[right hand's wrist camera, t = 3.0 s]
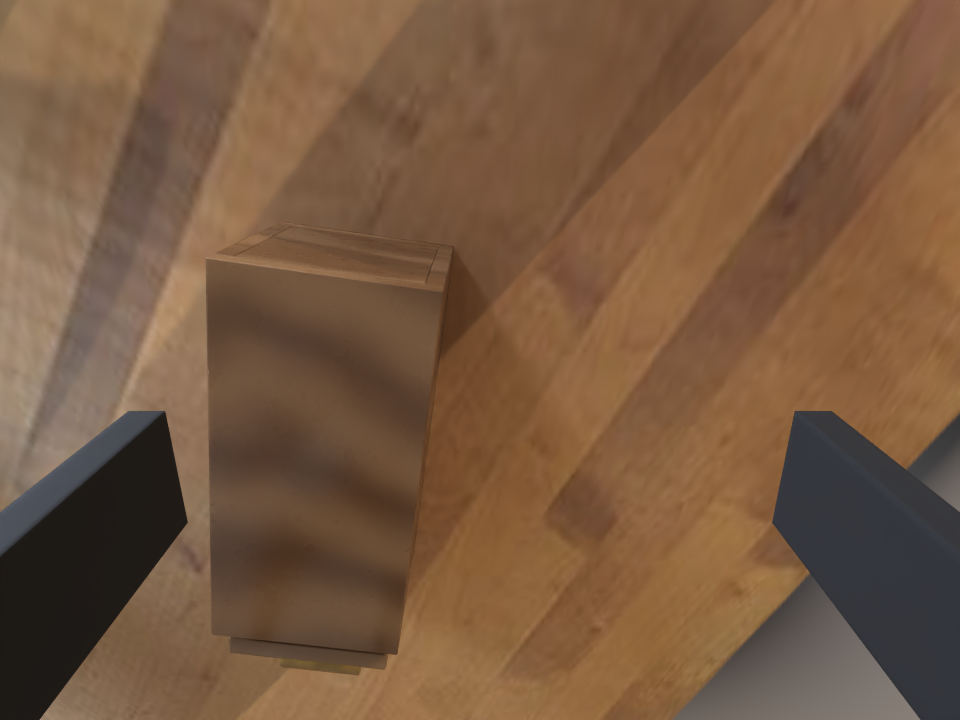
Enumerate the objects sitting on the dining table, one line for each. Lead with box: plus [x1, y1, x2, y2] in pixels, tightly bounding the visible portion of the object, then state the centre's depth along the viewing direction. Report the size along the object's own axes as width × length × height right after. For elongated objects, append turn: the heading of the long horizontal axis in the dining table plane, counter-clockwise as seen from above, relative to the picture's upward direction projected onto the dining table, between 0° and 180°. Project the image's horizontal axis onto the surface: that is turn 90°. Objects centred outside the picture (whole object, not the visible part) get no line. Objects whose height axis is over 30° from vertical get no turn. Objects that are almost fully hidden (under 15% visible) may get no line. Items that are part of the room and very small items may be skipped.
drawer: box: [229, 636, 388, 675], centre depth 38 cm, size 26×9×9 cm, turn 172°
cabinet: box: [206, 222, 454, 655], centre depth 35 cm, size 22×10×11 cm, turn 172°
